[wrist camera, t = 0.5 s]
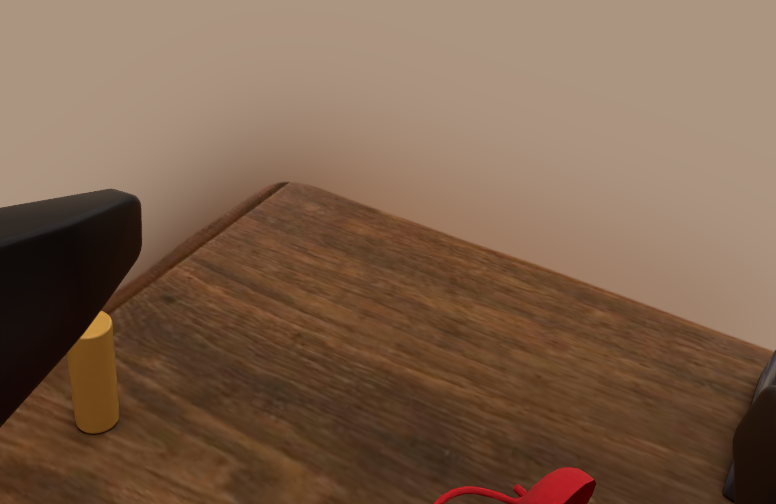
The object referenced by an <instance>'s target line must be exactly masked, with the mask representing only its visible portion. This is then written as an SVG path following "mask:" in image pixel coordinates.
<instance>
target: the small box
mask: <svg viewBox="0 0 776 504" xmlns="http://www.w3.org/2000/svg"><path fill="white" fill-rule="evenodd" d="M771 385H774V386H776V350H775V352H774V353H773V355H772V357H771V358H770V360H769V362H768V363H767V365H766V367H765V368H764V370H763V372H762V374H761V376H760V379H759V382H758V385H757V388H756V391H755V395H754V398H753V401H752V404H753V403H754V401H755V399H756V398H757V396H758V395H759V393H760V392H761V391H762V390H763V389H764V388H765V387H767V386H771ZM752 404H751V406H752ZM723 493H724V495H725V496H727V497H729V498H730V499H732V500H733V501H735V498H734V467H733V462H732V465H731V468H730V472H729V475H728V478H727V481H726V484H725V487H724V491H723Z"/></svg>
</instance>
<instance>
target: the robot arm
mask: <svg viewBox="0 0 776 504" xmlns="http://www.w3.org/2000/svg"><path fill="white" fill-rule="evenodd" d="M141 246H142V221H141V203H140V201H139V199H138V198H137V197H136V196H134V195H132V194H129V193H125V192H122V191H118V190H115V189H106V190H100V191H94V192H89V193H83V194H77V195H71V196H66V197H60V198H54V199H48V200H42V201H37V202H31V203H25V204H19V205H14V206H8V207H2V208H0V427H1V426H2V425H3V424H4V423H5V422H6V420H7V419H8V418H9V417H10V416H11V415H12V414H13V413H14V412H15V410H16V409H17V408H18V407H19V406H20V405H21V404H22V403H23V402H24V400H25V399H26V398H27V397H28V396H29V395H30V394H31V393H32V391H33V390H34V389H35V388H36V387H37V386H38V385H39V384H40V383H41V381H42V380H43V379H44V378H45V377H46V376H47V375H48V374H49V373H50V371H51V370H52V369H53V368H54V367H55V366H56V365H57V364H58V362H59V361H60V360H61V359H62V358H63V357H64V356H65V355H66V354H67V352H68V351H69V350H70V349H71V348H72V347H73V346H74V345H75V343H76V342H77V341H78V340H79V339H80V337H81V336H82V335H83V334H84V333H85V331H86V330H87V329H88V327H89V326H90V325H91V323H92V322H93V321H94V319H95V318H96V317H97V315H98V314H99V312H100V311H101V310H102V308H103V307H104V305H105V304H106V303H107V301H108V300H109V298H110V297H111V296H112V294H113V293H114V291H115V290H116V289H117V287H118V286H119V284H120V283H121V281H122V280H123V279H124V277H125V276H126V274H127V273H128V272H129V270H130V269H131V267H132V266H133V265H134V263H135V262H136V260H137V259H138V256H139V254H140V251H141ZM733 467H734V498H735V504H776V386H774V385H771V386H767V387H765V388H764V389H763V390H762V391H761V392H760V393H759V395H758V396H757V398H756V399H755V401H754V403H753V404H752V406H751V407H750V409H749V410H748V412H747V413H746V415H745V416H744V418H743V419H742V421H741V422H740V424H739V425H738V427H737V429H736V432H735V435H734V439H733Z"/></svg>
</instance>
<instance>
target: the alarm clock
mask: <svg viewBox="0 0 776 504" xmlns="http://www.w3.org/2000/svg"><path fill="white" fill-rule="evenodd" d="M595 485H596V483H595V480H594V479H593V478H591V477H590V476H589V475H588V474H586V473H585V472H583V471H581V470H580V469H576V468H571V467H565V468H560V469H558V470H556V471H554V472H552V473H550V474H548V475H546V476H545V477H544V478H542V479H541V480H540V481H539V482H538V483H536V484H535V485H534V486H533V487H532V488H531V489H530V490H529V492H527V491H526V490H525V489H524V488H522V487H521V486H520V485H519V484H517V485H516V486H515V487H514V492H515V493H517V494H518V495H519V496H520V498H517V499H514V498H511V497H509V496H506V495H504V494H501V493H499V492H496V491H492V490H488V489H484V488H480V487H469V486H465V487H461V488H456V489H452V490H451V491H449V492H447V493H446V494H444V495H442V496H441V497H440V498H439V499H438V500H436V501H435V502H434V503H433V504H444V503H446V502H447V501H448V500H450V499H451V498H453V497H456V496H460V495H463V494H477V495H482V496H486V497H491V498H495V499H497V500H500V501H502V502H505V503H508V504H587V503H588V501H589V499H590V497H591V496H592V494H593V491H594V488H595Z"/></svg>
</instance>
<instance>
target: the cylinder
mask: <svg viewBox="0 0 776 504" xmlns="http://www.w3.org/2000/svg"><path fill="white" fill-rule="evenodd" d="M67 360H68V368H69V376H70V383H71V391H72V398H73V406H74V414H75V421H76V425H77V426H78V428H79V429H80V430H82V431H84V432H86V433H93V434H95V433H101V432H105V431H107V430H109V429H110V428H112V427H113V426H114V425H115V424H116V423H117V421H118V419H119V403H118V390H117V377H116V364H115V351H114V338H113V325H112V319H111V318H110V316H109V315H108V314H106V313H104V312H102V311H100V312H99V314H98V315H97V317H96V318H95V319H94V321H93V322H92V323H91V325H90V326H89V327H88V329H87V330H86V331H85V333H84V334H83V335H82V336H81V337H80V339H79V340H78V341H77V342H76V343H75V345H74V346H73V347H72V348H71V349H70V350H69V351H68V352H67Z"/></svg>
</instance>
